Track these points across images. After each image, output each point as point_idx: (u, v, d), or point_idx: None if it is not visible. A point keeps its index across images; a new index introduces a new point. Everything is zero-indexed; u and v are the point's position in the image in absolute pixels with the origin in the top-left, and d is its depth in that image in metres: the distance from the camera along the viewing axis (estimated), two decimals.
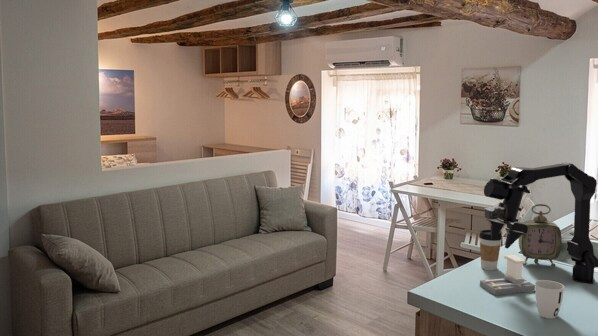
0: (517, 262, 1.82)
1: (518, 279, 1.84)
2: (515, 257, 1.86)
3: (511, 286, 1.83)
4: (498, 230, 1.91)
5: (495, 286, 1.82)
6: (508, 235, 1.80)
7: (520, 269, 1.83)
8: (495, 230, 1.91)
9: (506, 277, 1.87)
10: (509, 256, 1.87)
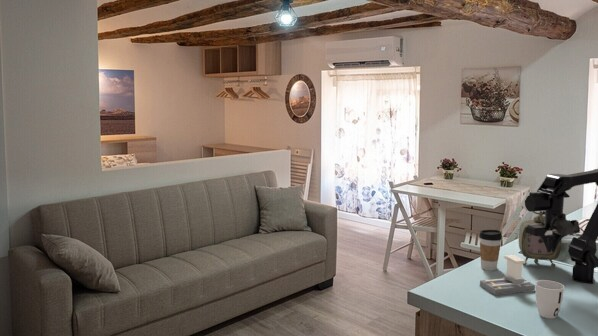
0: (517, 262, 1.82)
1: (518, 279, 1.84)
2: (515, 257, 1.86)
3: (511, 286, 1.83)
4: None
5: (495, 286, 1.82)
6: (559, 239, 1.87)
7: (520, 269, 1.83)
8: None
9: (506, 277, 1.87)
10: (509, 256, 1.87)
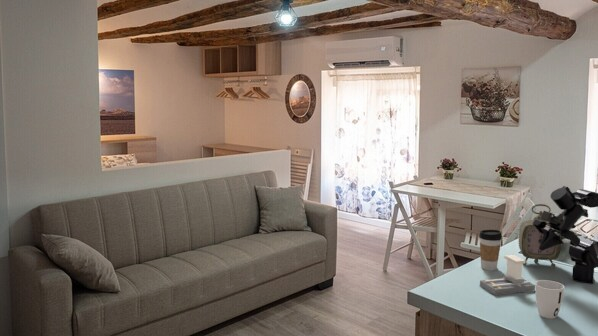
0: (517, 262, 1.82)
1: (518, 279, 1.84)
2: (515, 257, 1.86)
3: (511, 286, 1.83)
4: None
5: (495, 286, 1.82)
6: (549, 238, 1.86)
7: (520, 269, 1.83)
8: None
9: (506, 277, 1.87)
10: (509, 256, 1.87)
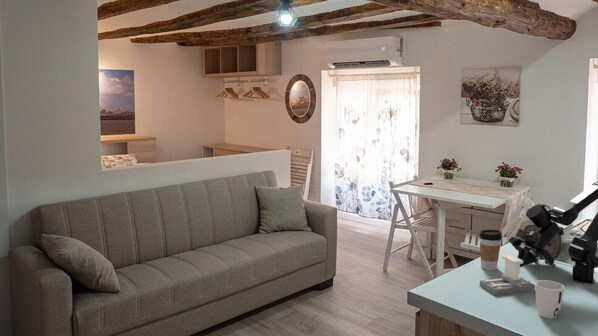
0: (515, 262, 1.82)
1: (516, 279, 1.83)
2: (513, 257, 1.86)
3: (511, 286, 1.83)
4: None
5: (495, 286, 1.82)
6: (524, 256, 1.85)
7: (518, 269, 1.83)
8: None
9: (504, 277, 1.87)
10: (507, 256, 1.87)
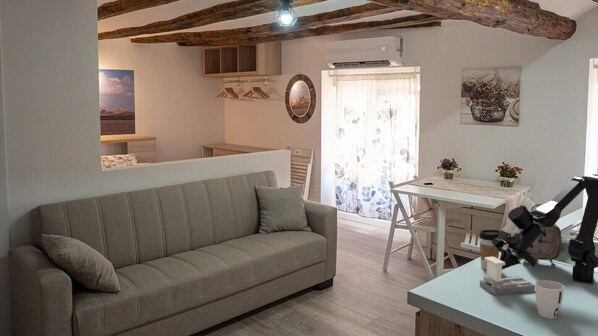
0: (497, 264, 1.80)
1: (498, 281, 1.82)
2: (495, 259, 1.84)
3: (511, 286, 1.83)
4: None
5: (495, 286, 1.82)
6: (506, 258, 1.83)
7: (500, 271, 1.81)
8: None
9: (486, 279, 1.85)
10: (489, 258, 1.85)
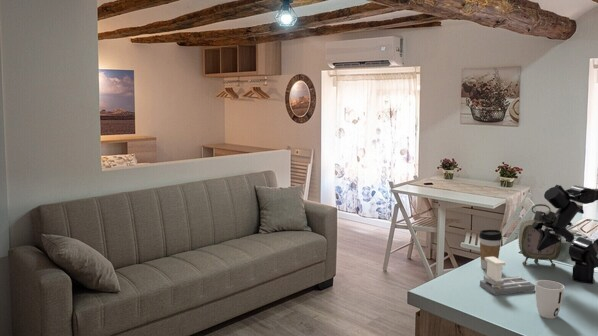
0: (497, 264, 1.80)
1: (498, 281, 1.82)
2: (495, 259, 1.84)
3: (511, 286, 1.83)
4: None
5: (495, 286, 1.82)
6: (545, 237, 1.86)
7: (500, 271, 1.81)
8: None
9: (486, 279, 1.85)
10: (489, 258, 1.85)
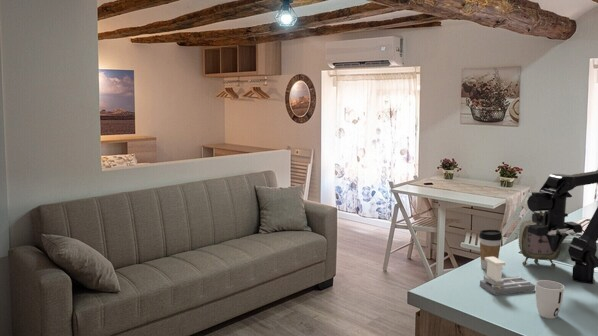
0: (497, 264, 1.80)
1: (498, 281, 1.82)
2: (495, 259, 1.84)
3: (511, 286, 1.83)
4: None
5: (495, 286, 1.82)
6: None
7: (500, 271, 1.81)
8: None
9: (486, 279, 1.85)
10: (489, 258, 1.85)
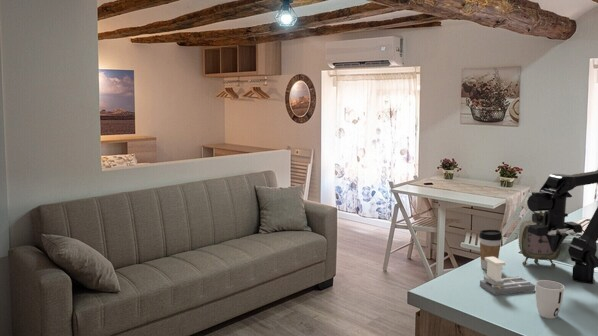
0: (497, 264, 1.80)
1: (498, 281, 1.82)
2: (495, 259, 1.84)
3: (511, 286, 1.83)
4: None
5: (495, 286, 1.82)
6: None
7: (500, 271, 1.81)
8: None
9: (486, 279, 1.85)
10: (489, 258, 1.85)
